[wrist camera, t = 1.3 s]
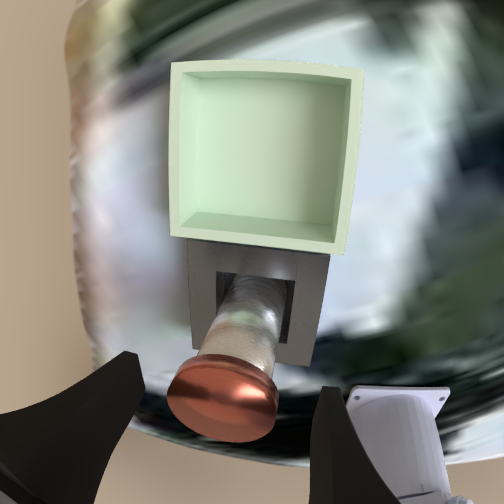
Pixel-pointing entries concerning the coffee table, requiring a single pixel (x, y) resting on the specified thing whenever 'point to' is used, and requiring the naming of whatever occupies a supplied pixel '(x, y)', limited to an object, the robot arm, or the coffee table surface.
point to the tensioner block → (264, 265)
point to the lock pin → (234, 365)
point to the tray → (264, 152)
